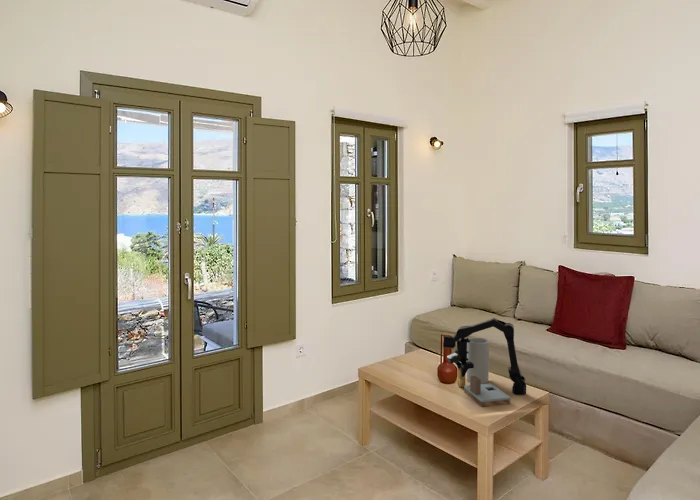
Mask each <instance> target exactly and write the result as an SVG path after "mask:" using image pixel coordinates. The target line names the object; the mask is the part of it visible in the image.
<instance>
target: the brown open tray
mask: <svg viewBox="0 0 700 500" xmlns="http://www.w3.org/2000/svg"><path fill="white" fill-rule="evenodd" d="M463 388H464V387H463ZM463 390H464V394H466V395H467V396H468V397H470V399H471V400H473V401H474V402H475V403H476V404H477V405H478V406H479V407H481V408H483V407H493V406H504V405H505V406H506V405H510V403H511V401H510V400H511V398H510V399H508V400H498V401H488V402H481V401H479V400H478V399H477V398H476V397H475V396H473V395H472V394H471V393H470V392H469V391H467V390H466V389H465V388H464V389H463ZM487 390H488V391H491V390H493V389H487Z"/></svg>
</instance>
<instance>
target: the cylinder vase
mask: <svg viewBox="0 0 700 500" xmlns="http://www.w3.org/2000/svg"><path fill="white" fill-rule="evenodd" d="M468 338H469V339H470V340H471V341H470V343H469V342H467V351H468V352H469V353H467V358H468V361H470V362H472V363H473V364H474V368H470V369H468V370H467V372H466V381H467V382H468V383H469V384H470V376H476V377H478V378H479V379H480V380H481V384H488V383H489V378H490V377H489V371H490V369H489V368H490V340H489V339H487V338H484V337H468Z"/></svg>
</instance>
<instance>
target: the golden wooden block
mask: <svg viewBox="0 0 700 500" xmlns="http://www.w3.org/2000/svg"><path fill="white" fill-rule="evenodd" d="M457 386H458V387H459V388H464V386H466V375H465V376H464V377H462V373H461V368H458V367H457Z"/></svg>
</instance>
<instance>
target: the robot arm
mask: <svg viewBox="0 0 700 500" xmlns="http://www.w3.org/2000/svg"><path fill="white" fill-rule="evenodd" d="M492 327H493V328H495V329H497V330H499V331H500V332H502V333H503V335H504V337H505V340H506V342H507V344H506V345H507V350H508V356H509V362H510V366H508V367H507V369H508V370H507V371H508V375H509V376H508V377H509V378H510V380H511V381H512V382H513V383H512V387H511V388H512V389H511V391H512V392H511V393H512V394H513V395H516V396H524V395H526V394H527V384H526V378H525V376H524V375H523V374H522V371H521V368H520V366H519V363H518V359H517V352H516V345H515V344H516V343H515V340H514V339H515V325H514V324H512V323H510V322H506V321H503V320H500V319H498V318H495V317H492V318H491V319H487V320H485V321H481V322H478V323H476V324H472V325H463V326H459V327H458V328H457V331H456V333H455V334H454V336H450V335H444V337H443V347H442V348H444V349H445V348H446V349H455V348H456V349H455V351H454V353H450V354H449V355H447V356H446V358H447V361H448V363H450V364H451V365H452V364H455V365H456V367H457V369H458V368H461V373H462V377H464V376H465V377H466V375H467V370H468V369H470V368H474V364H473V363H472V362H470V361H468V358H467V353H469V352H468V351H467V342H469V343H470V341H471V340H470V339H469V338H470V337H469V336H471V335H473V334H475V333H477V332H481V331H484V330H487V329H489V328H492Z"/></svg>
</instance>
